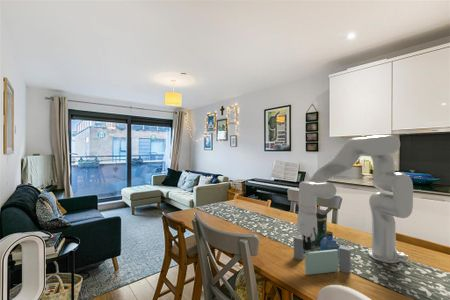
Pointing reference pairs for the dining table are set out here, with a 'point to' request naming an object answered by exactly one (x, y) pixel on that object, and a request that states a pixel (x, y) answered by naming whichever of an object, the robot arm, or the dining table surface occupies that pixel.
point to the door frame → (343, 254)
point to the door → (321, 261)
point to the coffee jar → (320, 226)
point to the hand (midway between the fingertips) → (307, 249)
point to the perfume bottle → (329, 243)
